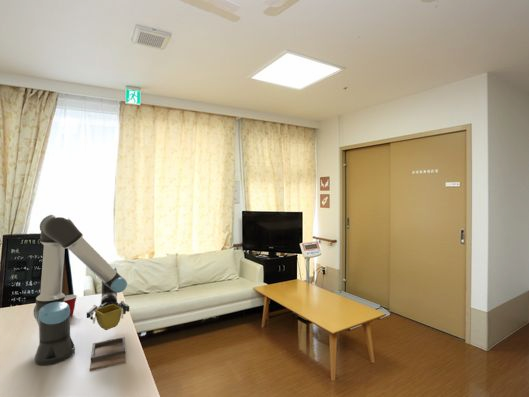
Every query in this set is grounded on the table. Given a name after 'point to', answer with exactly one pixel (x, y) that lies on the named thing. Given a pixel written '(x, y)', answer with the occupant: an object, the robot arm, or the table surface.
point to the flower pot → (108, 316)
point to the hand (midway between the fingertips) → (108, 318)
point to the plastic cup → (71, 302)
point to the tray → (108, 353)
